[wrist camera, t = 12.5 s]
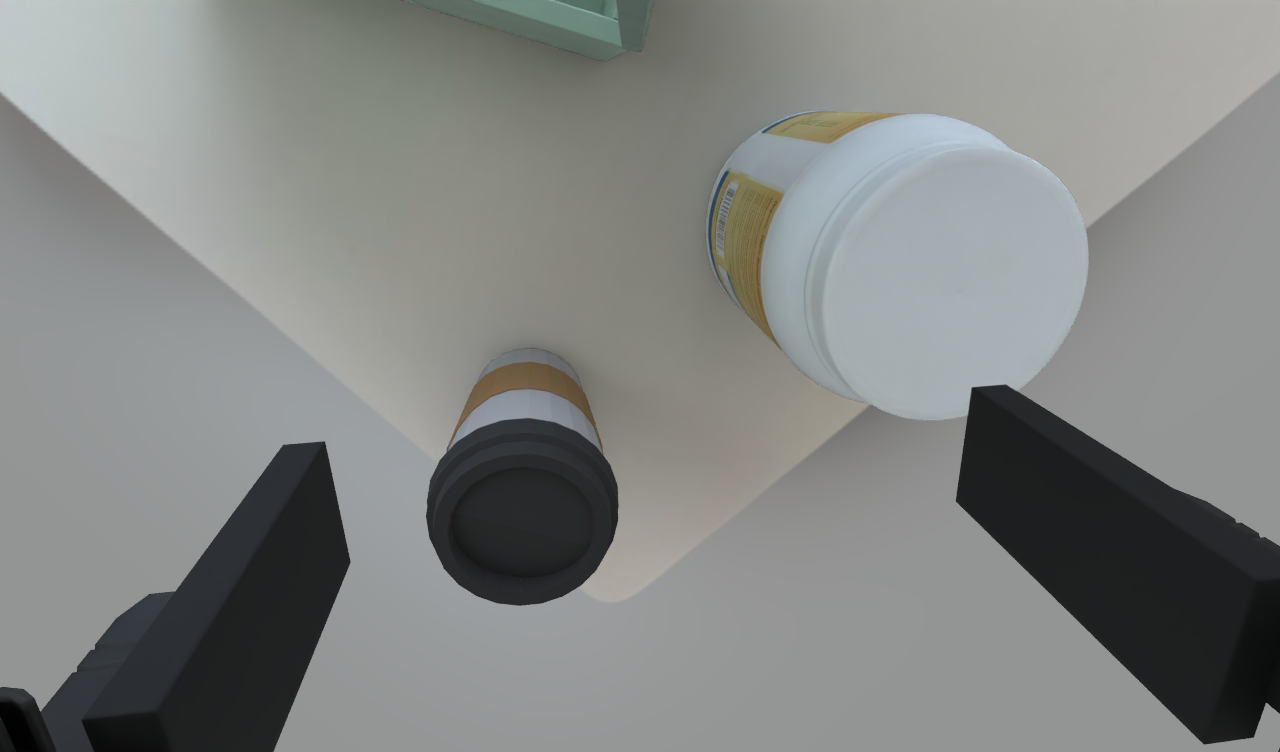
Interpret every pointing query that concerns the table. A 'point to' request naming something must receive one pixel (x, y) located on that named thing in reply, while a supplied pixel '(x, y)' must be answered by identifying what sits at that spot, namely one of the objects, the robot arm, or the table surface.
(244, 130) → the table surface
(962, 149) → the supplement tub
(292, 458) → the robot arm
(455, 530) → the coffee cup
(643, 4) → the box lid
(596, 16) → the green box
